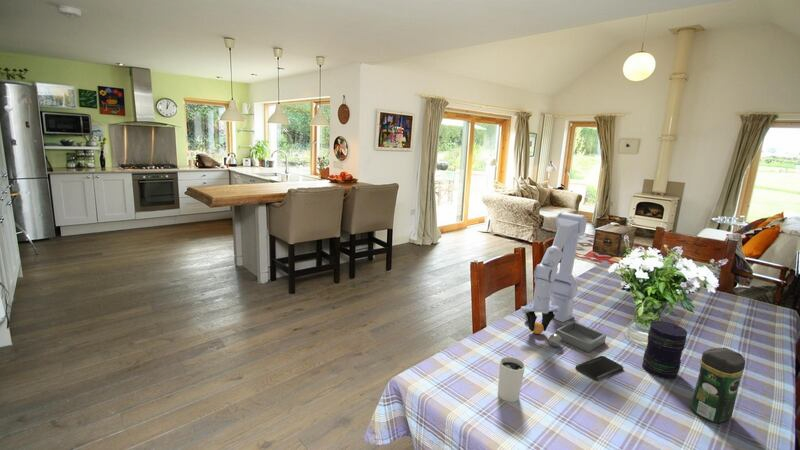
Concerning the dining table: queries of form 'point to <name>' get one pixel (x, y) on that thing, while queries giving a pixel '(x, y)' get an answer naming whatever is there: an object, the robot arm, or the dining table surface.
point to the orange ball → (538, 328)
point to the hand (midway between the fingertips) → (537, 329)
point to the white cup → (510, 378)
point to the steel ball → (555, 340)
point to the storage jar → (664, 349)
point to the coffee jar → (717, 384)
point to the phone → (599, 368)
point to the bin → (581, 336)
